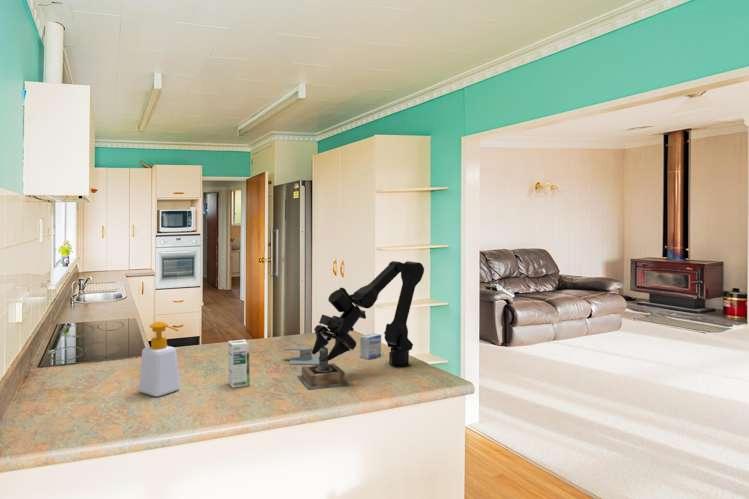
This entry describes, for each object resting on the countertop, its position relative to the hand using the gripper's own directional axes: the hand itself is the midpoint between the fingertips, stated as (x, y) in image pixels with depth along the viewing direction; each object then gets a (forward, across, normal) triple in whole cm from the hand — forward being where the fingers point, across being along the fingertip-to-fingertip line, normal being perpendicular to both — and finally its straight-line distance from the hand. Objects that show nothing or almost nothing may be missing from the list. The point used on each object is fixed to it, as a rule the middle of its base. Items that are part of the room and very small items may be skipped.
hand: (319, 356), depth 185 cm
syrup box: (+23, -13, -10) cm, 28 cm away
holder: (+5, 0, +7) cm, 9 cm away
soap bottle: (+38, -19, -26) cm, 50 cm away
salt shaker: (+5, 0, +7) cm, 8 cm away
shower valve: (0, -26, +13) cm, 29 cm away
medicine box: (-17, -15, +30) cm, 38 cm away
